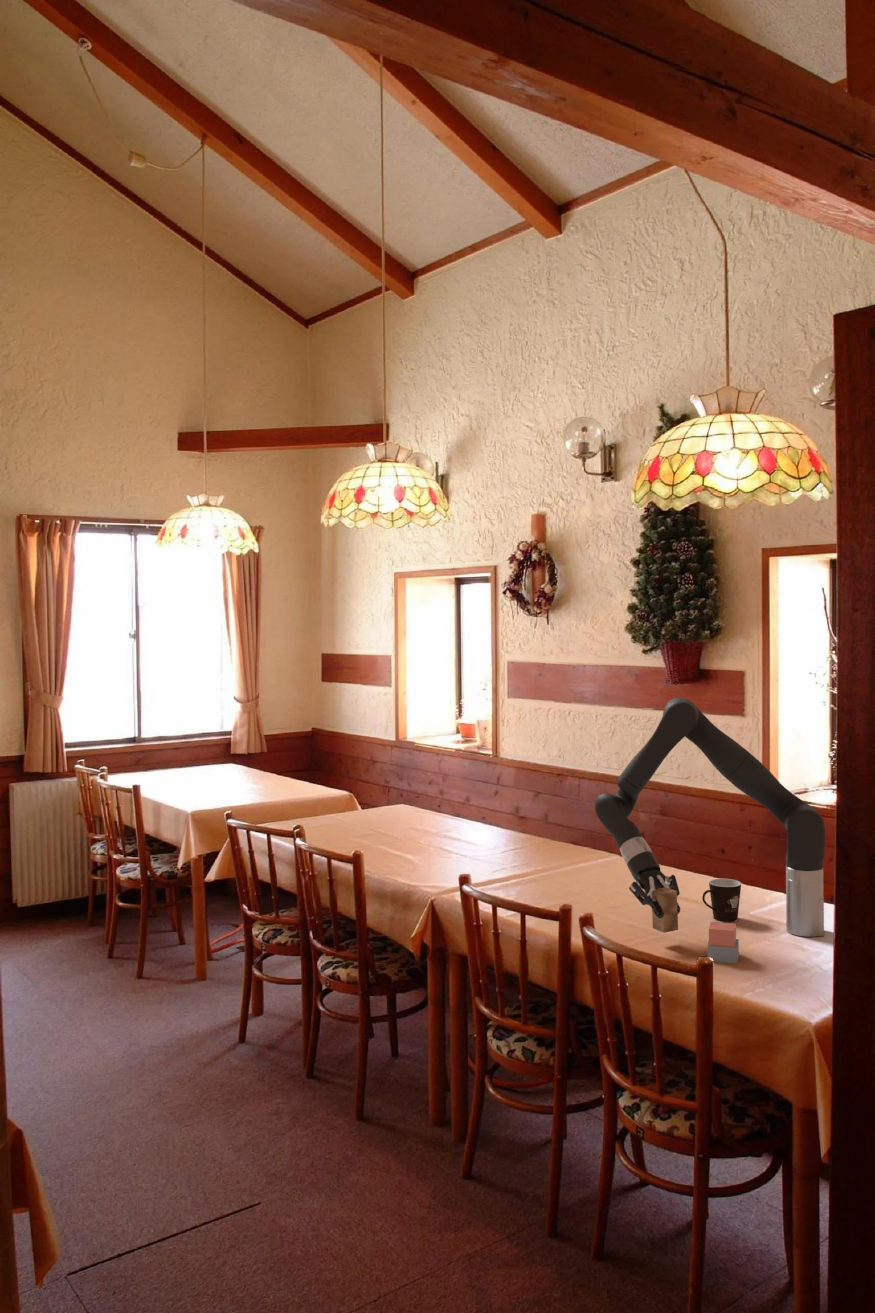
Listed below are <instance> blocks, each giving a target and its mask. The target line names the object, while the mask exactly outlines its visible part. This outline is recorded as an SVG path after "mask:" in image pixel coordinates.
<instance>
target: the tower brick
mask: <svg viewBox="0 0 875 1313" xmlns="http://www.w3.org/2000/svg"><path fill="white" fill-rule="evenodd" d="M736 939H737V924H736V923H734V922H721V921H710V923H709V927H708V941H709V945H713V946H724V947H735V943H736Z"/></svg>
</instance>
